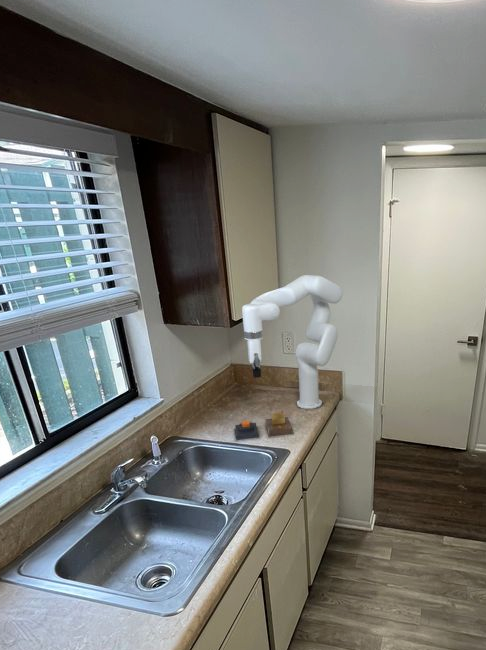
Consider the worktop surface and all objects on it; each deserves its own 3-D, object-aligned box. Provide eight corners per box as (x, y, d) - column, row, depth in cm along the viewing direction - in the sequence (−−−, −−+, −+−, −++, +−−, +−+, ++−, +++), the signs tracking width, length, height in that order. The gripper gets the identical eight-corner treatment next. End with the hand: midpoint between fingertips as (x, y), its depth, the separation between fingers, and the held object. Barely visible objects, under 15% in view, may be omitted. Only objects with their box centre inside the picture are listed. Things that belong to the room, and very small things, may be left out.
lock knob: (272, 424, 190) (271, 413, 188) (272, 423, 192) (271, 412, 189) (285, 423, 191) (284, 412, 189) (284, 421, 193) (283, 411, 191)
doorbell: (235, 429, 193) (234, 421, 191) (256, 426, 195) (255, 418, 194) (237, 440, 183) (236, 431, 182) (258, 437, 186) (257, 429, 184)
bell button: (241, 424, 189) (241, 421, 188) (249, 423, 190) (249, 420, 189) (242, 428, 186) (241, 424, 185) (250, 427, 187) (250, 423, 186)
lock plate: (266, 425, 197) (265, 418, 195) (288, 422, 199) (287, 416, 198) (269, 436, 186) (268, 430, 185) (292, 434, 189) (292, 427, 187)
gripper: (243, 331, 186) (247, 372, 194) (245, 339, 173) (249, 383, 180) (260, 330, 188) (264, 370, 195) (264, 338, 175) (268, 381, 182)
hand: (257, 376), depth 188 cm, fingers closed
